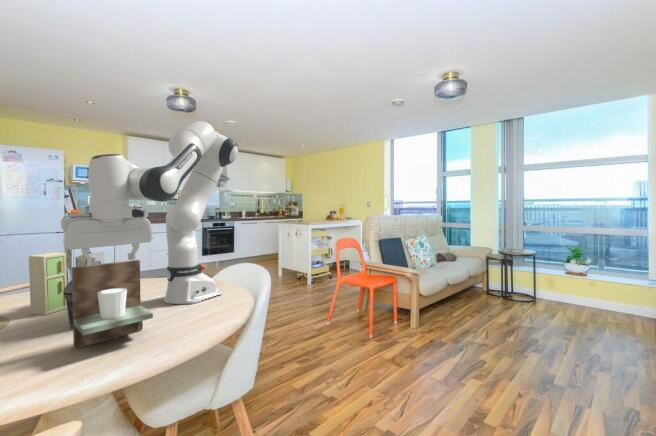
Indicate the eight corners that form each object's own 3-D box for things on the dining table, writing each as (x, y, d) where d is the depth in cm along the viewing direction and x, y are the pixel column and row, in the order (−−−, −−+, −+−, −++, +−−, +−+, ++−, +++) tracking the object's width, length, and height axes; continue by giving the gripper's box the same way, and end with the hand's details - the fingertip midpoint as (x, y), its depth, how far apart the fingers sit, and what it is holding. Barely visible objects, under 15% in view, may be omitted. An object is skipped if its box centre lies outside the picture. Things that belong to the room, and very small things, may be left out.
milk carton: (87, 303, 120) (86, 253, 120) (75, 301, 122) (74, 252, 122) (105, 298, 127) (104, 250, 126) (94, 297, 129) (93, 250, 128)
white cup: (91, 317, 84) (91, 292, 84) (116, 309, 90) (116, 286, 90) (108, 321, 81) (108, 295, 81) (133, 312, 88) (132, 288, 88)
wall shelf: (138, 329, 96) (137, 259, 95) (153, 340, 88) (151, 264, 87) (73, 346, 84) (71, 267, 83) (83, 361, 76) (81, 273, 75)
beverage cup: (75, 322, 101) (74, 262, 100) (99, 322, 102) (97, 262, 101) (58, 331, 94) (56, 267, 93) (83, 331, 94) (81, 267, 94)
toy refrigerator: (46, 315, 107) (44, 256, 106) (29, 314, 108) (28, 255, 108) (69, 308, 115) (68, 253, 114) (54, 306, 116) (52, 252, 116)
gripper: (62, 214, 75) (65, 269, 75) (153, 211, 90) (155, 257, 91) (58, 213, 79) (61, 266, 80) (146, 211, 94) (148, 255, 95)
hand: (112, 261), depth 85 cm, fingers open, 8 cm apart
